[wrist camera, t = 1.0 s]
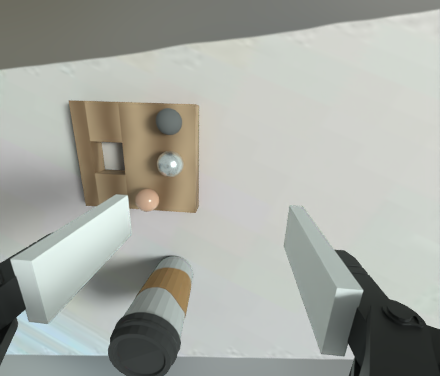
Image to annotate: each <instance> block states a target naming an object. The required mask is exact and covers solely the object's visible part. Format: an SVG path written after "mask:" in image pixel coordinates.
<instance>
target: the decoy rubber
mask: <svg viewBox="0 0 440 376" xmlns="http://www.w3.org/2000/svg"><path fill="white" fill-rule="evenodd" d="M156 125H157V128H158V129H159V130H160V131H161V132H162V133H163V134H166V135H174V134H176V133H178V132H179V130H180V129H181V127H182V118H181V116H180V114H179V113H178V112H177V111H176V110H174V109H171V108H165V109H162V110H161V111H160V112H159V113H158V114H157V116H156Z"/></svg>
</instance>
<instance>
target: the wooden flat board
mask: <svg viewBox="0 0 440 376" xmlns="http://www.w3.org/2000/svg"><path fill="white" fill-rule="evenodd" d="M69 106H70V112H71V118H72V124H73V130H74V136H75V142H76V148H77V155H78V161H79V167H80V173H81V179H82V185H83V191H84V197H85V203H86V206H98V205H100V204H101V203H103V202H104V201H106V200H108V199H109V198H111V197H113V196H114V195H116V194H117V195H128V202H129V208H130V209H139V208H138V207H137V205H136V203H135V198H136V195H137V193H138V192H139V191H141V190H143V189H152V190H154V191H155V192H156V193H157V194H158V196H159V204H158V206H157V207H156V208H155V209H154V210H160V211H175V212H190V213H196V211H197V209H198V206H199V105H196V104H164V103H132V102H100V101H69ZM165 108H171V109H174V110H176V111H177V112H178V113H179V114H180V116H181V118H182V127H181V129H180V130H179V132H178V133H176V134H174V135H166V134H163V133H162V132H161V131H160V130H159V129H158V128H157V125H156V116H157V114H158V113H159V112H160V111H161V110H162V109H165ZM101 142H120V143H122V146H123V156H124V166H125V171H122V170H105V166H104V159H103V151H102V143H101ZM166 151H174V152H176V153H178V154H179V155H180V156H181V157H182V159H183V163H184V165H183V169H182V171H181V173H180V174H178V175H177V176H174V177H167V176H164V175H163V174H161V173H160V172H159V170H158V168H157V160H158V158H159V156H160V155H161V154H162V153H164V152H166Z"/></svg>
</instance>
